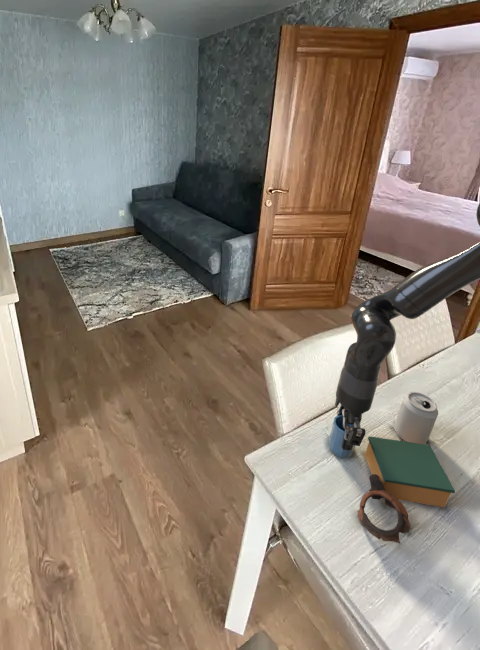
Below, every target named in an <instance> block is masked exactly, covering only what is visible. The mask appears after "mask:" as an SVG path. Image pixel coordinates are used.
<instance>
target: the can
mask: <svg viewBox="0 0 480 650" xmlns="http://www.w3.org/2000/svg"><path fill="white" fill-rule="evenodd" d="M438 416H439V410H438V405H437V403H436V402H435V400H434V399H432V398H431V397H430V396H428V395H427V394H424V393H423V392H422V393H421V392H418V391H410V392H408V393H407V394H405V395H404V396H403V397H402V400H401V403H400V405H399V409H398V411H397V414H396V418H395V420H394V424H393V428H394V431H395V433H396V434H397V435H398V437H400V438H401V440H402V441H405V442H411V443H418V444H425V445H427V443H428V441H429V438H430V436H431V433H432V431H433V429H434V426H435V423H436V421H437V418H438Z"/></svg>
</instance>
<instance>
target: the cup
mask: <svg viewBox="0 0 480 650" xmlns="http://www.w3.org/2000/svg"><path fill="white" fill-rule="evenodd" d="M347 425H350V426H354V425H353V424H348V423H347ZM350 432H351V431H349V432H348V434H350ZM344 433H345V429H344V428H343V415H337V414H336V416H335V417H334V418H333V422H332V426H331V430H330V433H329V438H328V443H327V444H328V447H329V449H330V451H331V452H332V453H334V455H336V456H338V457H340V458H343V459H346V458H350V457H352V455H353V453H354V449H355V446H354V445H353V448H352V450H351V451H348V450H343V449H342V442H343V438H344Z"/></svg>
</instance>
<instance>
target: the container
mask: <svg viewBox="0 0 480 650" xmlns="http://www.w3.org/2000/svg"><path fill="white" fill-rule="evenodd" d="M367 441H368V443H367V447H366V450H365V453H364V456H365V458H366V461H367V462H366V463H367V464H368V467H369V469H370V473H371V475H372V474H373V475H374V474H376V475H378V476H379V477H380V481H381V482H382V484H383V486H384V488H385V490H386V491H387V492H389V493H390V494H392V495H394V496H395V497H396V498H397V499H398V500H399V501H406V502H412V503H418V504H423V505H429V506H433V507H439V508H440V507H441V508H445V507H446V505H447V503H448V501H449V499H450V497H451V495H452V494H455V493H456V489H455V488H454V486H453V483H452V482H451V481H450V479H449V477H448V475H447V473H446V471H445V469H444V468H443V465H442V464H441V463H440V461H439V459H438V456H437V455H436V453H435V452H434V450H433V447H432V446H431V445H430V444H418V443H411V442H406V441H404V440H398V439H390V438H383V437H378V436H377V437H376V436H370V435H368V437H367Z"/></svg>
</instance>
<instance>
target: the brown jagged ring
mask: <svg viewBox="0 0 480 650" xmlns="http://www.w3.org/2000/svg"><path fill="white" fill-rule="evenodd" d="M368 478H369V483H370V484H369V485H370V487H369V489H368V492H366V493H365V494H363V496H362V498H361V499H360V503H359V509H358V510H357V511H356V512H357V517H358V521H359V522H360V523H361V525H362V527H363V528H364V529H365V530H366V531H367V532H368V533H369V534H370V535H372V536H373V537H375V538H376V539H378V540H382V541H383V542H392V543H396V544H401V537H400V533H401V534H408V533H410V530H411V523H410V522H411V521H410V519H409V517H410V515H409V512H408V510H407V509H406V507H405V505H404V504H403V503H402V501H401V500H399V499H397V498H396V497H395V496H394V495H392V494H390V493H389V492H387V491H386V490H385V488H384V486H383V484H382V482H381V481H380V477H379V476H378V475H376V474H374V475H373V474H372V473H371V474H370V476H369V477H368ZM370 499H371V500H379V501H380V500H381V499H384V504H385V506H388V507H389V508H391V509H393V510H395V511H396V513H397V521H396V525H395V526H394V527H393V528H391V529H382V528H380V527H378V526H376V524H374V523H373V522H372V521H371V520H370V518H369V517H368V515H367V513H365V509H366V505H367V502H368V500H370Z"/></svg>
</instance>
